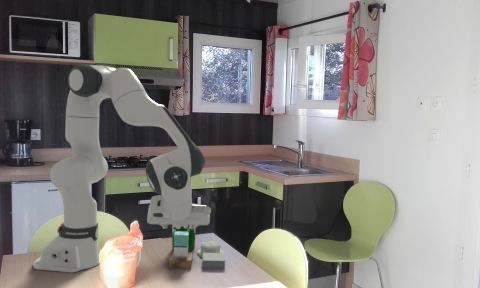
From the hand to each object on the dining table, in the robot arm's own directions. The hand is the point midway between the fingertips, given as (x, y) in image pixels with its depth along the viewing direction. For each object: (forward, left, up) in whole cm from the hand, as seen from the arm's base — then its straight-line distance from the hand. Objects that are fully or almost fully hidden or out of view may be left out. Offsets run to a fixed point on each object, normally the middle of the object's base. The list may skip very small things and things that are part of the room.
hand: (179, 227), depth 146 cm
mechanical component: (+11, +22, -18) cm, 30 cm away
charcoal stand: (+12, +11, -17) cm, 24 cm away
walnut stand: (0, +11, -17) cm, 20 cm away
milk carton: (0, +28, -17) cm, 33 cm away
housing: (0, +11, -14) cm, 18 cm away
